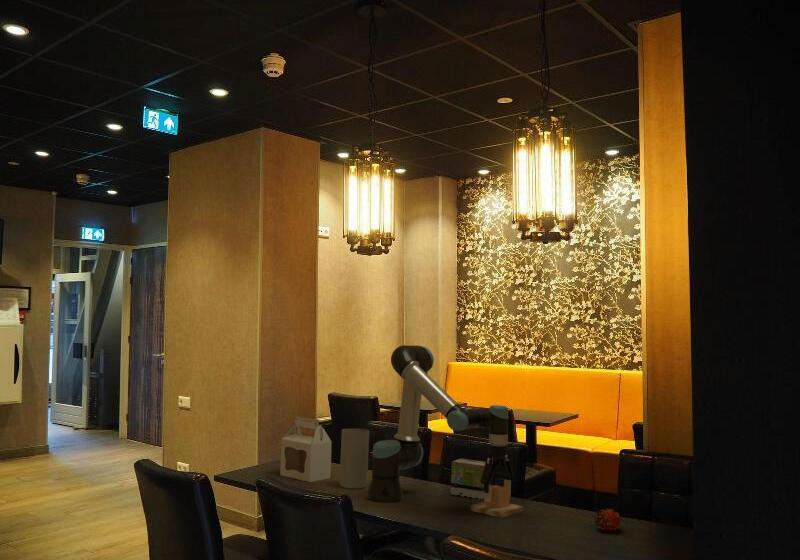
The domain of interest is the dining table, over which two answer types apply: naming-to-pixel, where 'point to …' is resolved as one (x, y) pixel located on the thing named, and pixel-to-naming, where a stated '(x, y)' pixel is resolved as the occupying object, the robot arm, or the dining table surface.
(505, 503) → the terracotta cube
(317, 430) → the gable box
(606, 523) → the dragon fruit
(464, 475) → the tea box
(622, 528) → the dining table surface
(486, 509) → the birch board
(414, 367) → the robot arm
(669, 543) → the dining table surface
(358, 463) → the cylinder vase
